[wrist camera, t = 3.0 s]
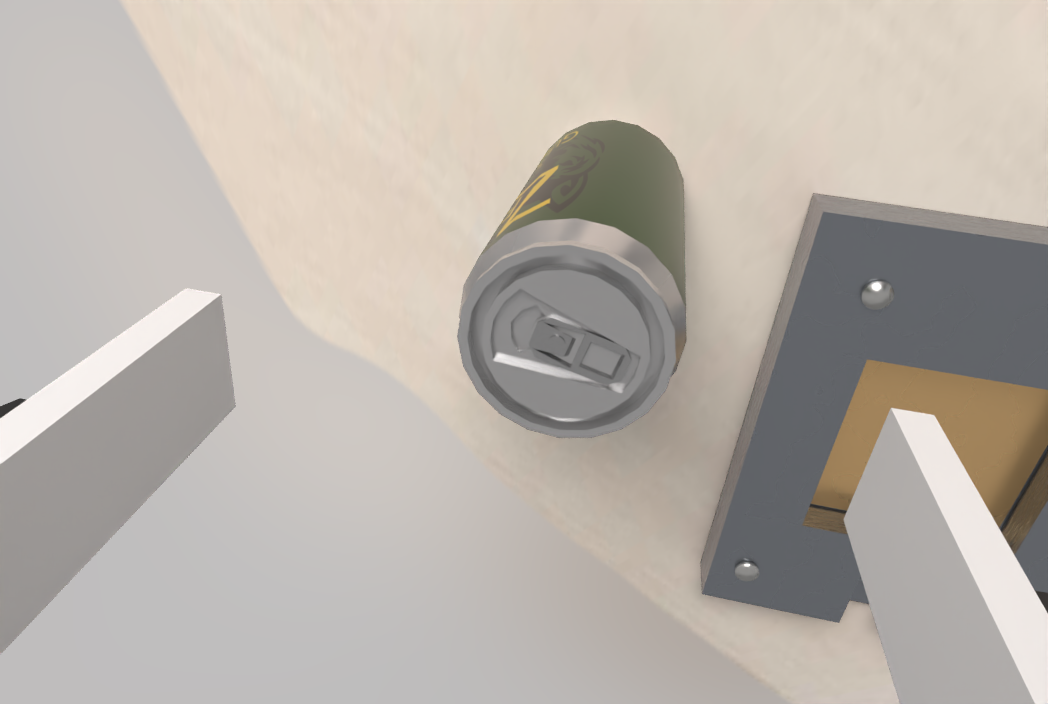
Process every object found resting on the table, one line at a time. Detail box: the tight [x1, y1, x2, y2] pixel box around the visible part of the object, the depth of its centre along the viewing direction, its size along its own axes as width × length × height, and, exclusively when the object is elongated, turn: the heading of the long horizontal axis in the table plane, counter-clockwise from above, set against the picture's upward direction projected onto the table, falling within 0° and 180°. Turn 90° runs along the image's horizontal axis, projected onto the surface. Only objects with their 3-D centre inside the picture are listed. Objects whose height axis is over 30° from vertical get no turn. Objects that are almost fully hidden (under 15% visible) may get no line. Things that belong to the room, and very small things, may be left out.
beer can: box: [457, 120, 686, 438], centre depth 21 cm, size 5×5×12 cm
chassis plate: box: [701, 193, 1048, 623], centre depth 28 cm, size 18×14×2 cm
